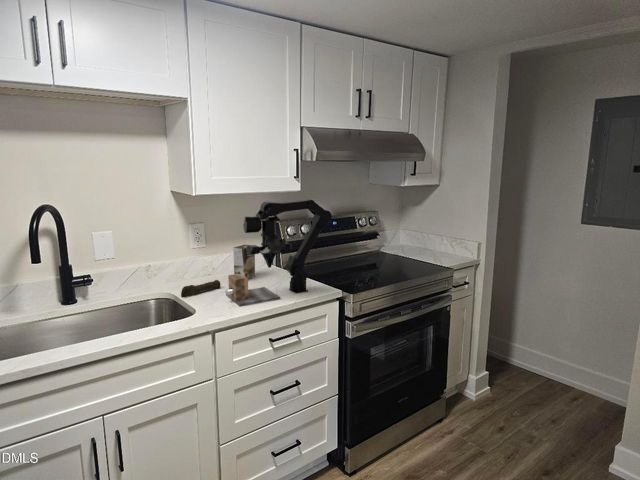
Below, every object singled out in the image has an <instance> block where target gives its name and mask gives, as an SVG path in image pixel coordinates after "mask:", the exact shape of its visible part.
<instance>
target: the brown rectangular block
mask: <svg viewBox="0 0 640 480" xmlns="http://www.w3.org/2000/svg"><path fill="white" fill-rule="evenodd" d="M241 277H243V278H244V279H245V297H248V290H249V280H248V278H247V277H245V276H241ZM230 294H234V291H233V289H230V290H229V289H226V290H225V296H226V295H230Z"/></svg>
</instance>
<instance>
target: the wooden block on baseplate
mask: <svg viewBox="0 0 640 480" xmlns="http://www.w3.org/2000/svg"><path fill="white" fill-rule="evenodd" d="M230 289H233V291H234V294H230V295H226V294H225V296H226V297H227V298H228V299H230V300H231V301H232V302H233V303H234V304H236V305H237V306H238V307H240V308H241V307H244V306H251V305H256V304H260V303H267V302H272V301H277V300H281V296H279V295H278V294H277V293H275V292H273V291H272V290H270V289H268V288H267V287H265V286H263V287H257V288H250V289H249V288H248V297H245V279H244V278H243V277H241V276H240V275H238V274H234V273H233V274H228V290H230Z"/></svg>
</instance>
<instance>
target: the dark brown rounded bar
mask: <svg viewBox="0 0 640 480" xmlns="http://www.w3.org/2000/svg"><path fill="white" fill-rule="evenodd" d="M215 289H221V281H220V280H218V279H215V280H213V281H208V282H205V283H202V284H197V285H193V284H191V285H185V286H183V288H182V289H181V292H180V296H181V298H187V297H188V298H189V297H193V296H195V295H196V294H198V293H202V292H206V291H207V292H208V291H211V290H215Z"/></svg>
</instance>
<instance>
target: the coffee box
mask: <svg viewBox="0 0 640 480" xmlns="http://www.w3.org/2000/svg"><path fill="white" fill-rule="evenodd" d="M250 245H251V244H242V245H238V246H234V247H233V275H234V274H238V275H240V276H245V277H247V278H248V279H249V280H251V279H253V278H255V277H256V254H249V253H247V252H246V248H247V246H250Z"/></svg>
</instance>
